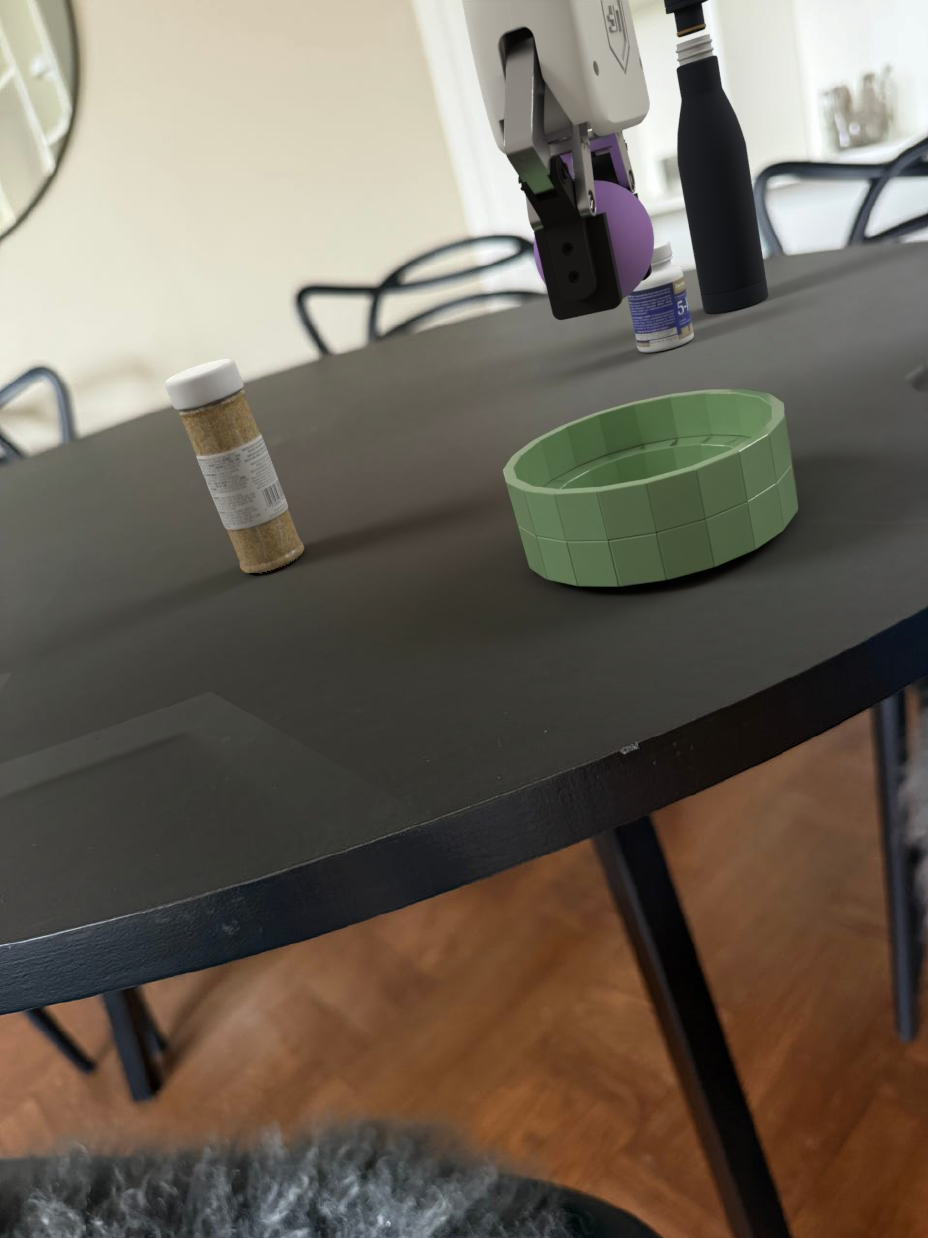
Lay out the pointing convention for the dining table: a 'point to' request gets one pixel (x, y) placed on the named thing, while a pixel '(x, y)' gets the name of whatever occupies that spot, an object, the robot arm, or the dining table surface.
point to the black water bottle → (715, 175)
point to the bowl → (654, 488)
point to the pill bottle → (661, 305)
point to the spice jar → (236, 464)
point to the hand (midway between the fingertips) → (605, 294)
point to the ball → (623, 234)
